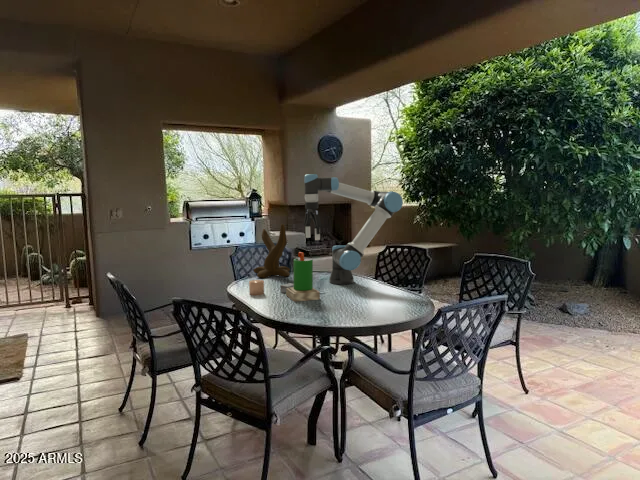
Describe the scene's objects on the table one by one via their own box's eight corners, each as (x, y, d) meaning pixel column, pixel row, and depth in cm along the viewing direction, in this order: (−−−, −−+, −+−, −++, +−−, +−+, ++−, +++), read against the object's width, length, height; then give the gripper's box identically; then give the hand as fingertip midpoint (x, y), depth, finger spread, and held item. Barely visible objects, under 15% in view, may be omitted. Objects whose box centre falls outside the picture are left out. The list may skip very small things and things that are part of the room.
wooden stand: (302, 274, 295) (301, 223, 291) (268, 280, 274) (267, 225, 270) (274, 269, 315) (274, 220, 311) (241, 274, 295) (240, 223, 291)
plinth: (310, 293, 240) (310, 285, 240) (319, 299, 227) (319, 290, 227) (286, 295, 235) (286, 287, 235) (294, 301, 222) (294, 292, 222)
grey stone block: (289, 289, 250) (289, 283, 249) (296, 291, 247) (296, 284, 246) (280, 292, 243) (280, 285, 243) (287, 293, 240) (287, 286, 240)
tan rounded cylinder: (262, 291, 245) (262, 279, 244) (265, 294, 237) (265, 282, 237) (248, 292, 242) (247, 280, 241) (251, 296, 234) (251, 283, 234)
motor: (313, 287, 234) (313, 250, 232) (310, 291, 226) (310, 253, 223) (295, 286, 236) (295, 250, 234) (291, 290, 227) (291, 252, 225)
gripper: (297, 201, 256) (298, 237, 259) (314, 202, 233) (315, 241, 236) (309, 201, 259) (310, 236, 262) (327, 201, 236) (327, 240, 239)
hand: (312, 238), depth 249 cm, fingers open, 13 cm apart
